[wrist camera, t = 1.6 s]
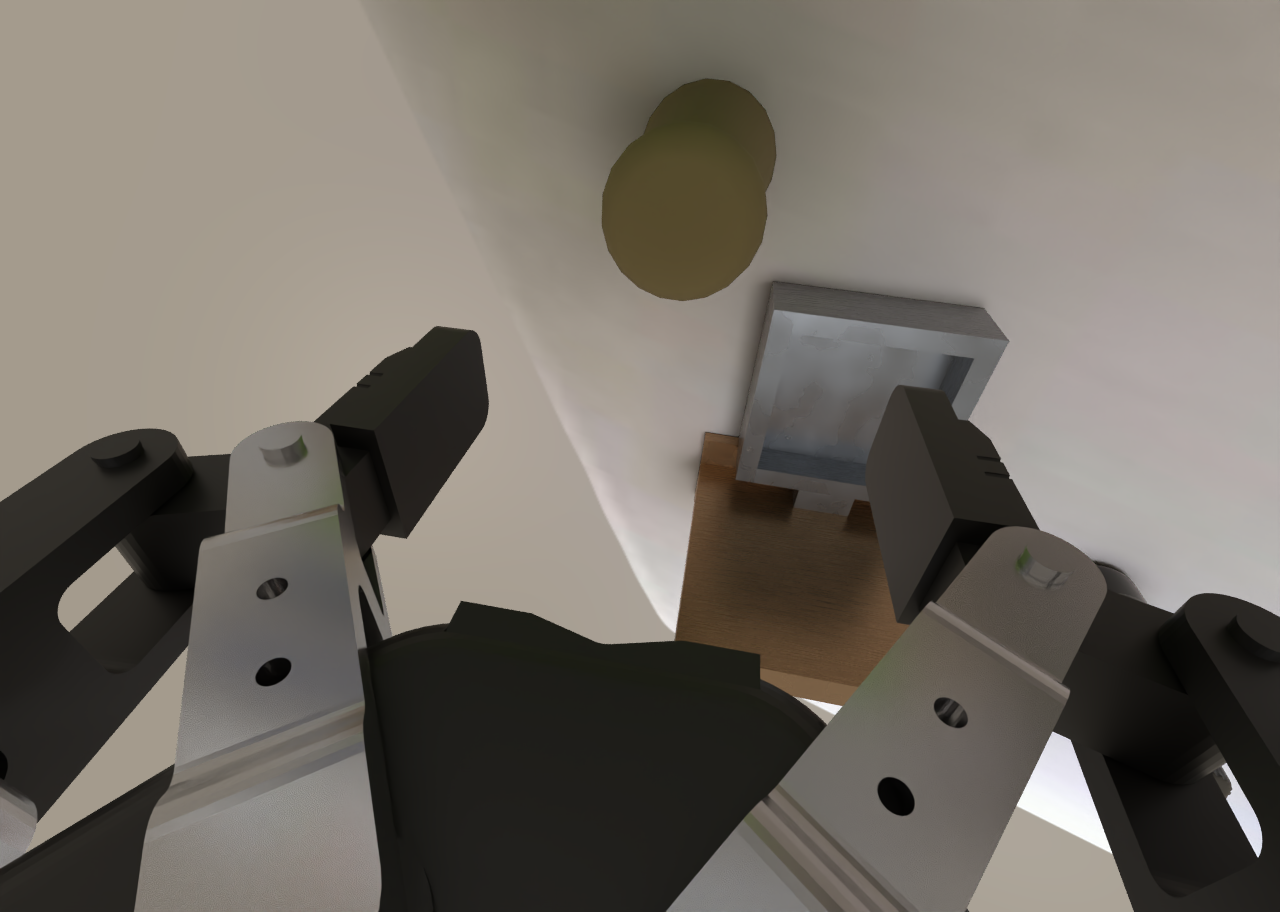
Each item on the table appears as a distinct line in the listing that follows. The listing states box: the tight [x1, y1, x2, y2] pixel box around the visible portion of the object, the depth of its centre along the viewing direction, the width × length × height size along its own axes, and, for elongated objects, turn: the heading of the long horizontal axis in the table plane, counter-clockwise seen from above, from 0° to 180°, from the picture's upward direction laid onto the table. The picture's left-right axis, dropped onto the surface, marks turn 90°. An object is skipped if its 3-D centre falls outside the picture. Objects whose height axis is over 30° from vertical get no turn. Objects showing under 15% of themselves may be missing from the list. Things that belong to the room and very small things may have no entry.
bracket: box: [674, 281, 1009, 706], centre depth 26 cm, size 15×14×14 cm
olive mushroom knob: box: [602, 79, 776, 301], centre depth 21 cm, size 6×6×11 cm
